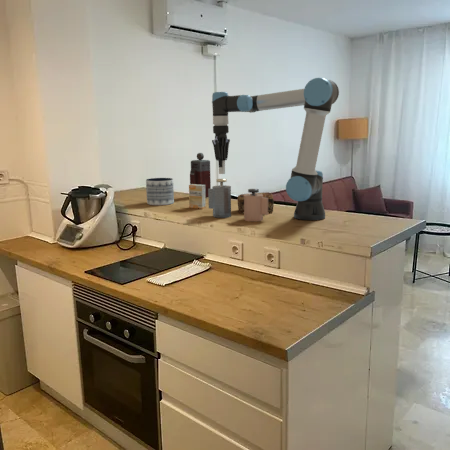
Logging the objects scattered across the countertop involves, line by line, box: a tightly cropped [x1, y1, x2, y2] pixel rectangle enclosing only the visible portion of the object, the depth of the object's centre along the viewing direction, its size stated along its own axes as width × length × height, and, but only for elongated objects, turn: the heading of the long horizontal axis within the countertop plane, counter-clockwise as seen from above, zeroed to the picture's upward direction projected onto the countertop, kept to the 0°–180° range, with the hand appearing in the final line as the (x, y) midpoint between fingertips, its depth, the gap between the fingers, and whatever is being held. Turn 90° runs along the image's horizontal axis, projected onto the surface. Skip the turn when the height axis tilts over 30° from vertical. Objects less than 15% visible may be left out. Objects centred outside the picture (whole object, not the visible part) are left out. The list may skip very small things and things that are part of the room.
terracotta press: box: [243, 193, 269, 222], centre depth 224 cm, size 9×12×12 cm
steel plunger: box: [216, 178, 228, 187], centre depth 233 cm, size 5×5×13 cm
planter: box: [145, 177, 175, 206], centre depth 276 cm, size 16×16×14 cm
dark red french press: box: [189, 152, 212, 198], centre depth 296 cm, size 9×11×28 cm
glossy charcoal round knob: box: [247, 188, 260, 196], centre depth 224 cm, size 5×5×12 cm
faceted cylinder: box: [207, 184, 232, 219], centre depth 234 cm, size 9×12×15 cm
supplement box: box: [188, 184, 207, 210], centre depth 258 cm, size 8×5×13 cm, turn 68°
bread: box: [237, 191, 274, 214], centre depth 246 cm, size 19×11×10 cm, turn 90°
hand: (222, 173), depth 231 cm, fingers closed
